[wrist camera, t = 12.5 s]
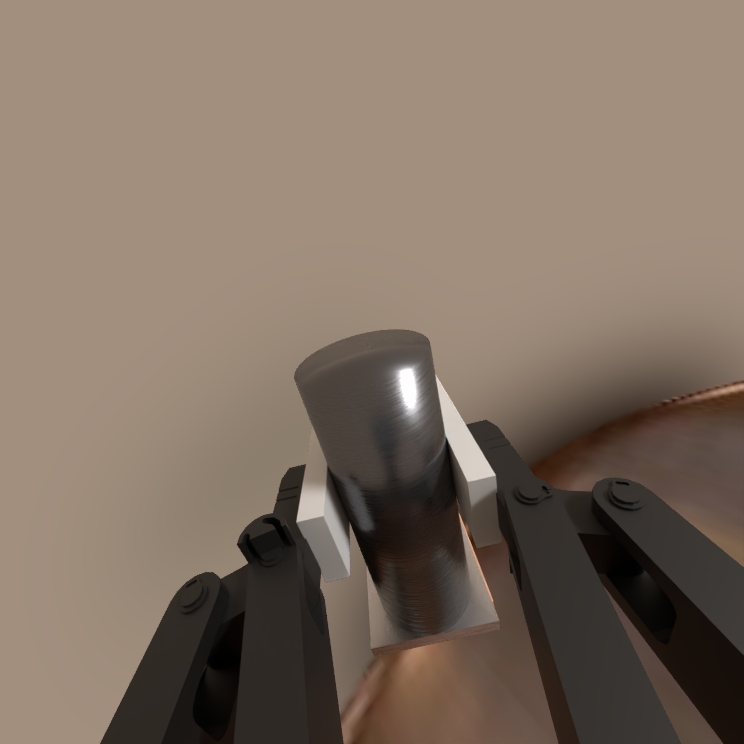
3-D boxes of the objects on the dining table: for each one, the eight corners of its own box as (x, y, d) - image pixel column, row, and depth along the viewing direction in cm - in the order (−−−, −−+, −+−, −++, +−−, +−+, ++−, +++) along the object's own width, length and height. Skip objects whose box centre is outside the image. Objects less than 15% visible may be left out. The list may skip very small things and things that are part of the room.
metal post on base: (434, 457, 21) (401, 286, 16) (500, 629, 12) (469, 362, 7) (362, 474, 21) (308, 310, 17) (374, 656, 12) (262, 413, 8)
